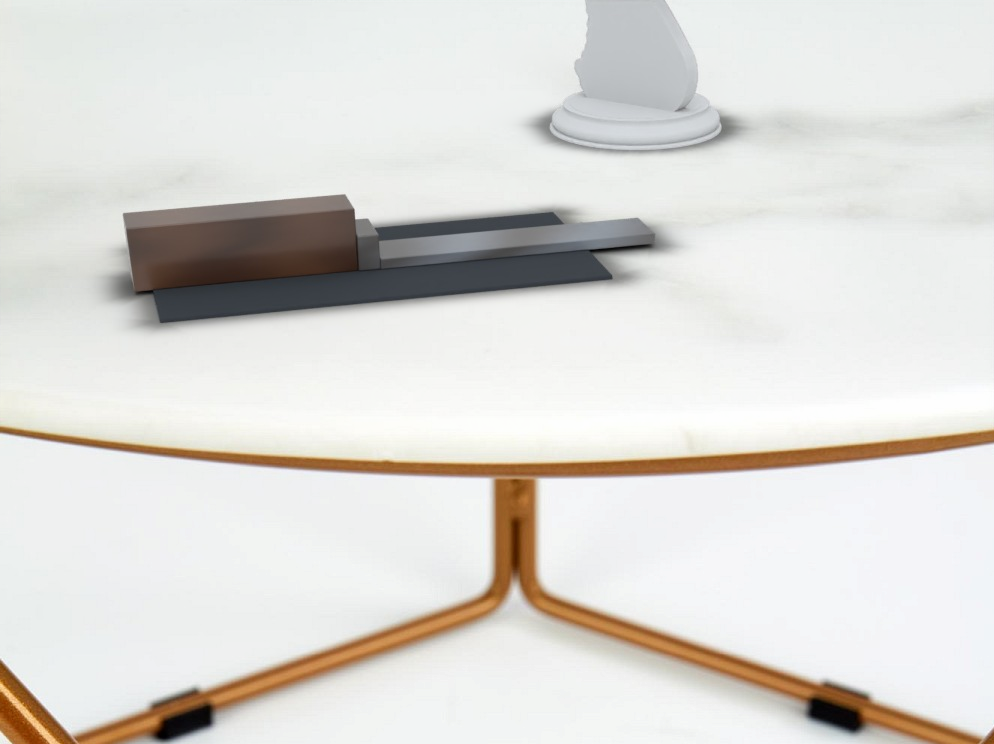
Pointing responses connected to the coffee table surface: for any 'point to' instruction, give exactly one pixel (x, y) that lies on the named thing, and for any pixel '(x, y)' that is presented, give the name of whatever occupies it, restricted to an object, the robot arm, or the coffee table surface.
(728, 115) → the coffee table surface
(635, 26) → the chess piece
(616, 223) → the knife
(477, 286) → the slate mat
